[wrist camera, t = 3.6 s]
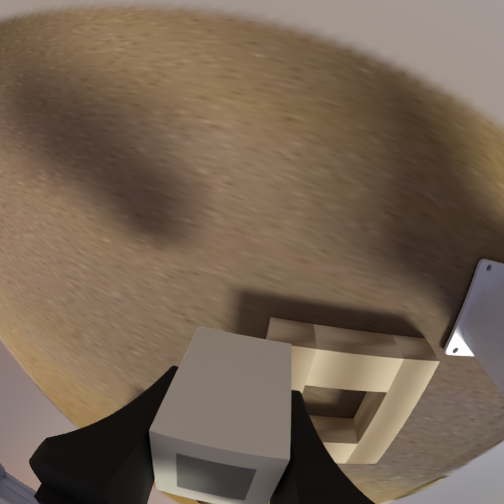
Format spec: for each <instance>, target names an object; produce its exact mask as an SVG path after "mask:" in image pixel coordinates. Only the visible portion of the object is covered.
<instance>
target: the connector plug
mask: <svg viewBox="0 0 504 504" xmlns="http://www.w3.org/2000/svg"><path fill="white" fill-rule="evenodd" d="M149 435H150V444H151V453H152V461H153V469H154V476H155V483H156V489H158V490H161V491H164V492H168V493H171V494H175V495H179V496H183V497H187V498H191V499H195V500H199V501H204V502H209V503H213V504H268V502H269V500H270V498H271V496H272V494H273V492H274V490H275V489H276V487H277V485H278V483H279V481H280V479H281V477H282V475H283V473H284V471H285V469H286V467H287V465H288V462H289V460H290V437H291V344H289V343H283V342H277V341H272V340H266V339H260V338H255V337H250V336H244V335H239V334H234V333H229V332H224V331H220V330H215V329H210V328H205V327H201V326H198V328H197V330H196V332H195V334H194V336H193V338H192V340H191V342H190V344H189V347H188V349H187V351H186V353H185V355H184V357H183V359H182V361H181V363H180V365H179V368H178V370H177V372H176V374H175V376H174V378H173V380H172V382H171V385H170V387H169V389H168V391H167V393H166V395H165V397H164V399H163V402H162V404H161V406H160V408H159V410H158V412H157V414H156V417H155V419H154V421H153V423H152V425H151V427H150V429H149Z"/></svg>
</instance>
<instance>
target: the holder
mask: <svg viewBox="0 0 504 504" xmlns="http://www.w3.org/2000/svg"><path fill="white" fill-rule="evenodd" d="M266 340H272V341H277V342H283V343H289V344H291V390H297V391H300V392H301V393H302V392H303V390H304V387H305V385H309V386H318V387H326V388H336V389H346V390H358V391H367V393H366V395H365V397H364V399H363V401H362V403H361V405H360V407H359V409H358V411H357V413H356V414H355V416H354V418H338V417H325V416H315V415H309V416H310V418H311V420H312V422H313V425H314V427H315V429H316V431H317V433H318V435H319V437H320V439H321V440H322V442H323V444H324V446H325V447H326V449H327V451H328V452H329V454H330V455H331V457H332V458H333V460H334V461H335V463H349V464H374V463H377V462H378V460H379V459H380V458H381V456H382V455H383V454H384V452H385V451H386V449H387V448H388V447H389V445H390V444H391V442H392V441H393V439H394V438H395V436H396V435H397V433H398V432H399V430H400V429H401V427H402V426H403V424H404V423H405V421H406V420H407V418H408V417H409V415H410V413H411V412H412V410H413V408H414V407H415V405H416V404H417V402H418V400H419V398H420V397H421V395H422V393H423V392H424V390H425V388H426V386H427V384H428V383H429V381H430V379H431V377H432V375H433V373H434V372H435V370H436V368H437V366H438V364H439V362H440V361H439V359H438V358H437V356H436V354H435V353H434V351H433V349H432V348H431V346H430V344H429V343H428V341H427V340H426V338H417V337H408V336H399V335H390V334H382V333H374V332H366V331H358V330H351V329H344V328H337V327H330V326H323V325H316V324H310V323H304V322H297V321H291V320H285V319H279V318H274V317H271V318H270V322H269V327H268V332H267V337H266Z"/></svg>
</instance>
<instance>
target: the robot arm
mask: <svg viewBox="0 0 504 504" xmlns="http://www.w3.org/2000/svg"><path fill="white" fill-rule="evenodd" d="M488 265H489V268H488V269H487V267H488ZM454 348H456V349H455V350H454ZM444 352H445V353H446V354H447V355H458V356H475V357H476V358H477V360H478V361H479V363H480V364H481V365H482V367H483V368H484V370H485V371H486V372H487V374H488V375H489V377H490V378H491V380H492V381H493V382H494V384H495V385H496V387H497V388H498V390H499V391H500V393H501V394H502V396H503V397H504V263H500V262H496V261H492V260H488V259H481V260H480V261H479V263H478V265H477V268H476V271H475V274H474V277H473V280H472V282H471V285H470V288H469V291H468V293H467V296H466V299H465V301H464V304H463V306H462V309H461V311H460V313H459V316H458V318H457V321H456V323H455V325H454V328H453V330H452V332H451V334H450V336H449V339H448V341H447V343H446V345H445V347H444ZM178 368H179V367H177V366H172V367H171V368H170V369H169V370H168V371H167V372H166V373H165V374H164V375H163V376H162V377H161V378H160V379H158V380H157V381H156V382H155V383H154V384H153V385H152V386H151V387H149V388H148V389H147V390H146V391H145V392H143V393H142V394H141V395H140V396H138V397H137V398H136V399H134V400H133V401H132V402H130V403H129V404H127V405H126V406H124V407H123V408H121V409H120V410H118V411H116V412H115V413H113V414H111V415H110V416H108V417H106V418H104V419H102V420H100V421H98V422H96V423H93V424H91V425H89V426H86V427H83V428H81V429H78V430H75V431H72V432H69V433H66V434H61V435H58V436H53V437H49V438H46V439H45V440H44V441H43V442H42V443H41V444H40V446H39V447H38V448H37V450H36V451H35V452H34V454H33V455H32V457H31V458H30V460H29V464H30V466H31V468H32V470H33V471H34V473H35V474H36V476H37V477H38V479H39V480H40V482H41V483H42V484H41V485H40V487H39V489H38V491H37V492H36V491H35V490H33V489H31V488H30V487H28V486H27V485H25V484H23V483H22V482H20V481H19V480H17V479H16V478H14V477H13V476H11V475H9V474H8V473H7V472H6V471H5V469H4V467H3V466H2V465H1V464H0V504H147V502H148V498H149V495H150V492H151V489H152V486H153V482H154V479H155V476H154V469H153V461H152V453H151V444H150V435H149V429H150V427H151V425H152V423H153V421H154V419H155V417H156V414H157V412H158V410H159V408H160V406H161V404H162V402H163V399H164V397H165V395H166V393H167V391H168V389H169V387H170V385H171V382H172V380H173V378H174V376H175V374H176V372H177V370H178ZM270 504H375V503H374V502H372V501H371V500H370V499H369V498H367V497H366V496H365V495H364V494H363V493H362V492H361V491H360V490H359V489H358V488H357V487H356V486H355V485H354V484H353V483H352V482H351V481H350V480H349V479H348V478H347V476H346V475H345V474H344V473H343V472H342V471H341V469H340V468H339V467H338V465H337V464H336V463H335V461H334V460H333V458H332V457H331V455H330V454H329V452H328V451H327V449H326V447H325V446H324V444H323V442H322V440H321V439H320V437H319V435H318V433H317V431H316V429H315V427H314V425H313V422H312V420H311V418H310V416H309V413H308V411H307V408H306V405H305V403H304V400H303V397H302V393H301V392H300V391H297V390H291V437H290V460H289V462H288V465H287V467H286V469H285V471H284V473H283V475H282V477H281V479H280V481H279V483H278V485H277V487H276V489H275V490H274V492H273V494H272V496H271V498H270Z"/></svg>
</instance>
